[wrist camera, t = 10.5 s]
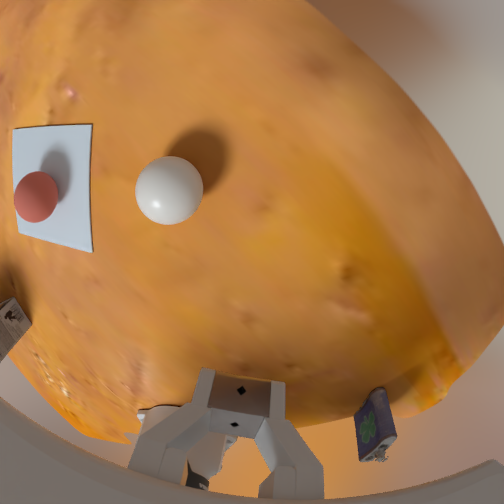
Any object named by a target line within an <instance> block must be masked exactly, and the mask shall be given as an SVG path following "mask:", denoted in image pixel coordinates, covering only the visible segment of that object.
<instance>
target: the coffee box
mask: <svg viewBox="0 0 504 504" xmlns="http://www.w3.org/2000/svg"><path fill="white" fill-rule="evenodd" d="M31 326H32V324H31V322H30V321H29V319H28V318H27V316H26V315H25V313H24V312H23V310H22V309H21V307H20V305H19V304H18V302H17V300H16V299H15V297H12V298H10V299H8V300H6V301H4V302H2V303H0V362H1V361H2V360H3V359H4V357H5V356H6V355H7V354H8V352H9V351H10V350H11V349H12V348H13V346H14V345H15V344H16V343H17V342H18V341H19V339H20V338H21V337H22V336H23V335H24V334H25V333H26V331H27V330H28V329H29V328H30V327H31Z"/></svg>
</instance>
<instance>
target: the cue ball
mask: <svg viewBox="0 0 504 504" xmlns="http://www.w3.org/2000/svg"><path fill="white" fill-rule="evenodd" d="M135 194H136V200H137V203H138V206H139V208H140V209H141V211H142V212H143V213H144V215H145V216H147V217H148V218H149V219H151V220H152V221H154V222H157V223H159V224H165V225H171V224H177V223H180V222H182V221H184V220H186V219H188V218H189V217H190V216H192V215H193V213H194V212H195V211H196V210H197V208H198V207H199V205H200V203H201V200H202V196H203V183H202V179H201V176H200V174H199V172H198V170H197V169H196V168H195V167H194V166H193V165H192V164H191V163H190V162H188V161H187V160H185V159H183V158H180V157H175V156H166V157H161V158H158V159H156V160H154V161H152V162H151V163H149V164H148V165H147V166H146V167H145V168H144V169H143V170H142V172H141V173H140V175H139V177H138V180H137V183H136V188H135Z"/></svg>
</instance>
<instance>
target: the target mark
mask: <svg viewBox="0 0 504 504" xmlns="http://www.w3.org/2000/svg"><path fill="white" fill-rule="evenodd" d="M91 137H92V125H63V126H45V127H33V128H22V129H14V130H13V145H12V160H13V185H14V193H15V189H16V187H17V185H18V183H19V182H20V180H21V179H22V178H23V177H24V176H26V175H27V174H29V173H31V172H35V171H41V172H44V173H47V174H48V175H50V176H51V177H52V178H53V180H54V181H55V183H56V185H57V188H58V202H57V205H56V208H55V210H54V211H53V213H52V214H51V215H50V216H49V217H48V218H47V219H45V220H44V221H41V222H37V223H31V222H28V221H25V220H24V219H22V218H21V217H20V216H19V214H18V213H17V211H16V216H17V223H18V230H19V233H21V234H25V235H28V236H32V237H35V238H39V239H42V240H46V241H49V242H53V243H57V244H60V245H64V246H68V247H71V248H75V249H79V250H83V251H86V252H90V253H93V246H92V233H91V216H90V154H91Z"/></svg>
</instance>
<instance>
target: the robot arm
mask: <svg viewBox="0 0 504 504" xmlns="http://www.w3.org/2000/svg"><path fill="white" fill-rule="evenodd" d="M137 417H138V418H139V420H140V421H141V423H142V425H141V428H140V431H139V435H138V438H137V441H136V445H135V449H134V452H133V454H132V457H131V460H130V462H129V465H128V468H125V467H123V466H120V465H117V464H115V463H113V462H110V461H108V460H105V459H103V458H101V457H99V456H96V455H94V454H92V453H90V452H88V451H86V450H84V449H82V448H80V447H78V446H76V445H74V444H72V443H70V442H68V441H66V440H64V439H63V438H61V437H59V436H57V435H56V434H54V433H52V432H51V431H49V430H47V429H46V428H44V427H42V426H41V425H39V424H38V423H36V422H34V421H33V420H31V419H30V418H28V417H27V416H26V415H24V414H23V413H21V412H20V411H18V410H17V409H16V408H14V407H13V406H11V405H10V404H9V403H7V402H6V401H5V400H3V399H2V398H1V397H0V504H504V466H503V465H502V464H501V463H499V462H498V461H496V460H494V459H491V460H487V461H485V462H483V463H481V464H478V465H476V466H473V467H471V468H469V469H466V470H464V471H461V472H458V473H456V474H453V475H450V476H447V477H444V478H441V479H437V480H434V481H431V482H427V483H424V484H420V485H416V486H412V487H408V488H404V489H399V490H394V491H389V492H384V493H378V494H371V495H364V496H357V497H347V498H336V499H324V476H323V475H324V474H323V466H322V465H321V463H320V462H319V461H318V459H317V458H316V457H315V455H314V454H313V452H312V451H311V450H310V449H309V447H308V446H307V444H306V443H305V442H304V440H303V439H302V437H301V436H300V435H299V433H298V432H297V430H296V429H295V428H294V426H293V425H292V423H291V422H290V421H289V420H285V382H280V381H273V380H268V379H261V378H255V377H248V376H240V375H235V374H230V373H226V372H221V371H217V370H213V369H208V368H204V367H202V369H201V371H200V374H199V377H198V381H197V384H196V388H195V391H194V395H193V398H192V402H191V403H186V404H184V405H183V406H182V407H175V406H157V407H154V408H152V409H150V410H138V413H137ZM238 436H240V437H246V438H252V439H254V441H255V443H256V445H257V447H258V449H259V451H260V452H261V454H262V456H263V458H264V460H265V462H266V464H267V466H268V467H269V469H270V471H271V474H270V475H269V476H268V477H267V478H266V479H265V480H264V481H263V482H262V483H261V484H260V485H259V494H258V498H254V497H244V496H236V495H229V494H223V493H217V492H211V491H208V486H209V481H208V480H209V479H210V477H212V476H214V475H216V474H217V473H218V472H220V470H221V469H222V460H223V456H224V452H225V451H226V450H227V449H228V448H229V447H230V446H232V445H233V444H234V443H235V442H236V441H237V437H238Z"/></svg>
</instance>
